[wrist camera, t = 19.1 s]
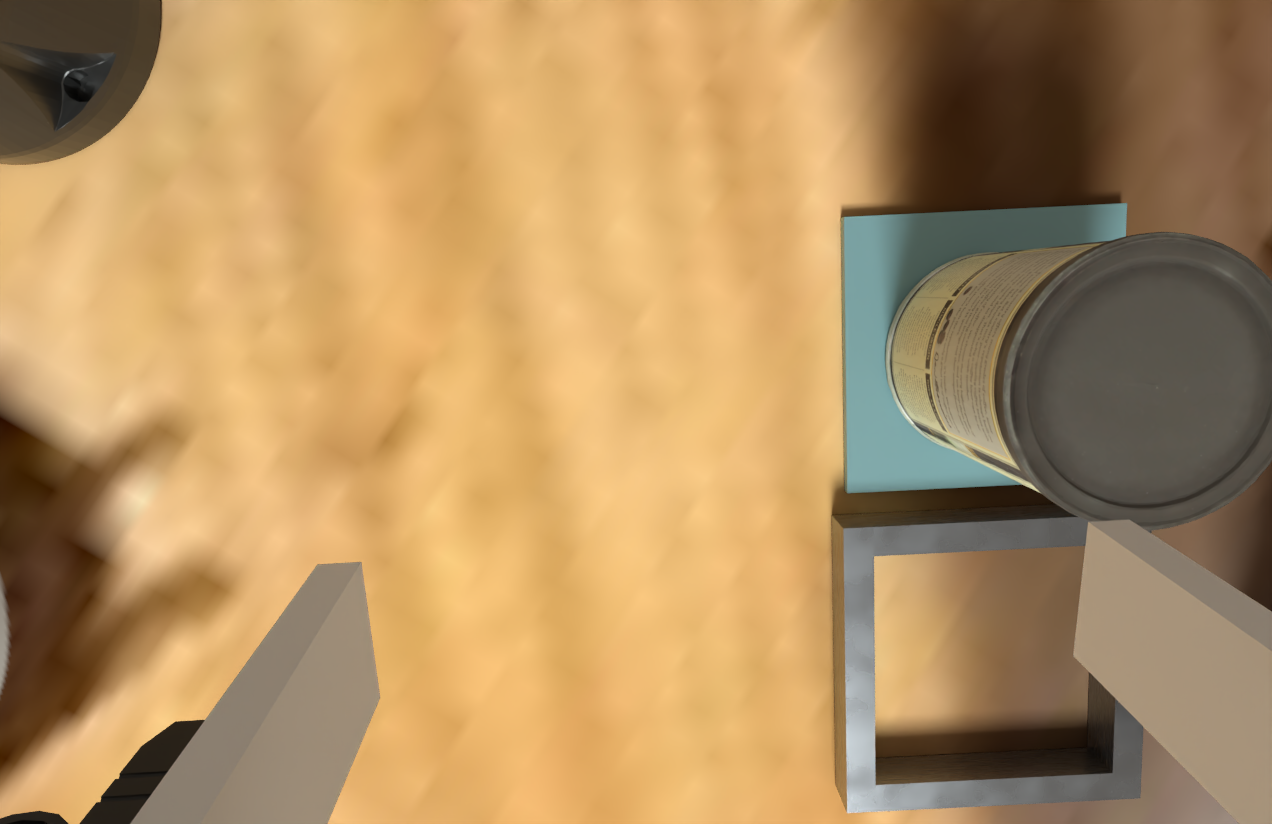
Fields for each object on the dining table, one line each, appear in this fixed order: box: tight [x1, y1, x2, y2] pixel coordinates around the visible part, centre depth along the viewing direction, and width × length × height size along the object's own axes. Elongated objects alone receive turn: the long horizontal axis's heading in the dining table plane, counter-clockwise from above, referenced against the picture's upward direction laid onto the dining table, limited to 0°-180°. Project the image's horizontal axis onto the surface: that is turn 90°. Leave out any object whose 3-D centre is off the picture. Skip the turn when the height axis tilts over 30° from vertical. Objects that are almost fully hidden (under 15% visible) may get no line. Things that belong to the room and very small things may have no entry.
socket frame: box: [832, 504, 1151, 813], centre depth 45 cm, size 15×15×2 cm
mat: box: [841, 203, 1127, 493], centre depth 43 cm, size 14×14×1 cm
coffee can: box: [885, 232, 1272, 530], centre depth 36 cm, size 10×10×14 cm
